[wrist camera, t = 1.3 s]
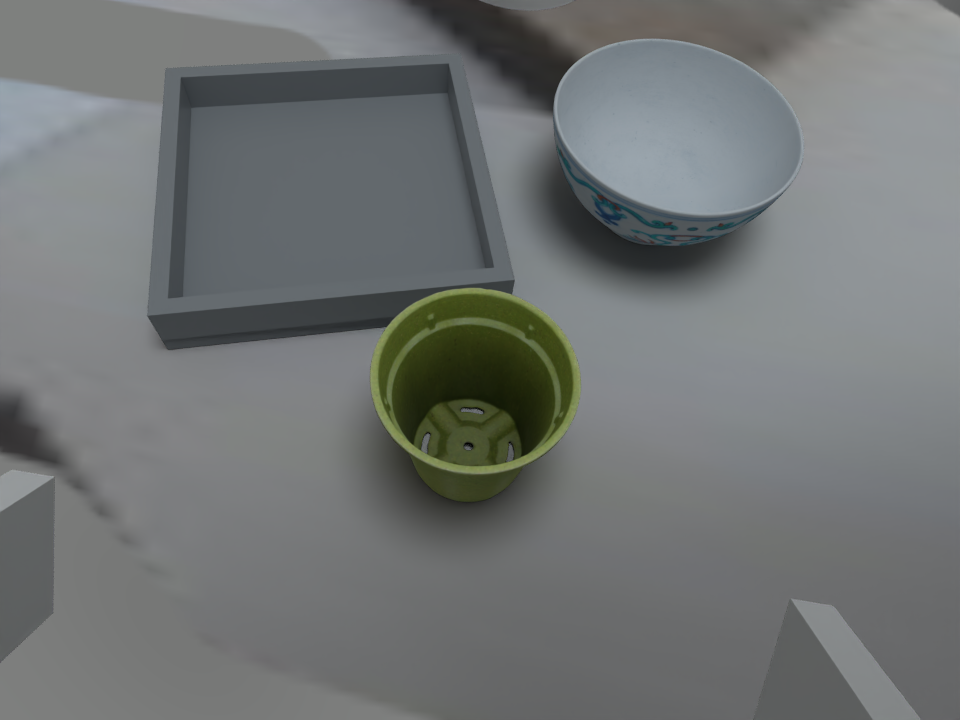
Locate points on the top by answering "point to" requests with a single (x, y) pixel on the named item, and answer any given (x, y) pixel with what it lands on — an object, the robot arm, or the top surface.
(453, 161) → the tray
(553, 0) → the canister
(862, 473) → the top surface
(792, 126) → the chinaware
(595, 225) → the top surface
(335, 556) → the top surface
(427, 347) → the plant pot
